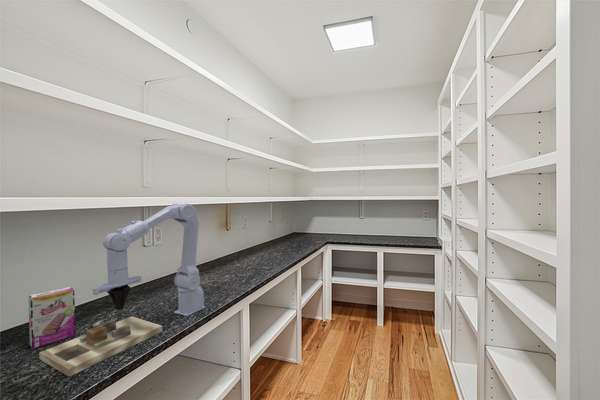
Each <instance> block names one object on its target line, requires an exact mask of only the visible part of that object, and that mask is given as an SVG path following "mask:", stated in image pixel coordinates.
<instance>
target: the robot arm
mask: <svg viewBox="0 0 600 400" xmlns="http://www.w3.org/2000/svg"><path fill="white" fill-rule="evenodd" d="M171 219H173V220H174V221H177V222H178V223H179V224H181V225H182V227H183V238H182V240H183V241H182V248H181V249H182V251H181V261H180V262H181V264H180V265H179V267H178V268H177V271H176V274H175V277H174V279H173V283H174V285H175V286H176V287H177V294H178V295H177V297H178V299H177V300H178V309H177V310H175V311H173V313H174V314H176V315H177V314H178V315H182V316H184V317H189V316H190V315H193V314H195V313H197V312H199V311H201V310H203V309H205V308H206V306H205V300H204V299H205V296H204V290H203V288H202V287H201V286H200V284H201V276H200V271H199V269H198V268H197V266H196V264H197V261H196V260H197V247H198V236H199V227H200V226H199V220H198V217H197V209H196V208H195V206H193V205H192V204H191V203H172V204H170V205H169V206H166V207H164V208H162V210H159V211H157V213H154V214H153V215H151V216H150V217H148V218H147V219H145V220H132V221H131V222H130V224H128V225H127V226H125V227H123V228H118V229H117V232H111V233H109V234H107V235H106V236H105V238H104V241H102V245H103V247H104V248H105V249H106V266H107V267H106V269H107V270H106V271H107V282H106V283H104V284H101V285H98V286H96V287H92V295H94V296H98V295H100V294H103V293H106V292H107V294H108V295H109V297H110V298H111V299H112V302H113V304H114V307H115V310H116V311H122V310H124V308H125V303H126V299H127V297H128V294H129V292H130V291H131V286H130V285H132V284H136V283H142V281H143V280H142V275H141V276H140V275H135V276H131V277H129V265H128V261H129V260H128V248H129V247H130V245H131V244H132V243H134V242H136V241H137V240H140V239H141V238H143V237H144V236H146V235H147V234H148V233H149V230H150V229H151V228H153V227H155V226H158V225H159V224H161V223H163V222H165V221H166V220H171Z"/></svg>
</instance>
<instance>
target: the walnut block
mask: <svg viewBox="0 0 600 400" xmlns="http://www.w3.org/2000/svg"><path fill="white" fill-rule="evenodd" d="M98 325H99V326H98ZM98 325H97V326H93V327H92V328H89V329H86V330H85V334H86V343H87V344H89V345H91V346H94V344H96V343H98V342H101V341H103V340H105V339H107V328H106V327H104V326H101V325H100V324H98Z"/></svg>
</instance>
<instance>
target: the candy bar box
mask: <svg viewBox="0 0 600 400" xmlns="http://www.w3.org/2000/svg"><path fill="white" fill-rule="evenodd" d="M75 304H76V303H75V288H73V287H72V286H67V287H64V288H63V287H62V288H58V289H53V290H49V291H43V292H37V293H34V294H30V295H28V320H29V321H28V323H29V325H28V327H29V328H28V329H29V345H30V347H31V350H36V349H38V348H42V347H45V346H47V345H51V344H54V343H57V342H60V341H63V340H66V339H69V338H73V337H75V336H76V305H75Z"/></svg>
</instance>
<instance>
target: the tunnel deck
mask: <svg viewBox="0 0 600 400" xmlns="http://www.w3.org/2000/svg"><path fill="white" fill-rule="evenodd" d="M99 325H101V326H104V327H106V328H107V339H105V340H103V341H101V342H98V343H96V344H94V346H91V345H89V344H87V343H86V333H85V334H83V335H81V336H78V337H76V338H74V339H71V340H68V341H65V342H63V343H60V344H58V345H55V346H53V347H49V348H47V349H45V350H43V351H40V352H39V353H38V354H39V355H38V356H39V360H41V361H42V362H43V363H45V364H47V365H49V366H50V367H52V368H53V369H55V370H57V371H58V372H61V373H62V374H64V375H65V376H66V377H71V376H73V375H76V374H77V373H80V372H81V371H84V370H86V369H87V368H88V369H89V368H90V367H92V366H94V365H97V364H99V363H100V362H103V361H104V360H107V359H108V358H111V357H113V356H115V355H117V354H119V353H121V352H123V351H125V350H127V349H129V348H131V347H133V346H135V345H137V344H140V343H141V342H143V341H146V340H148V339H150V338H152V337H154V336H156V335H158V334H160V333H162V332H163V325H160V324H157V323H154V322H151V321H147V320H144V319H142V318H137V317H135V316H130V317H127V318H124V319H121V320H119V321H117V320H115V319H111V320H109V321H106V322H104V323H101V324H97V326H99Z"/></svg>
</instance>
